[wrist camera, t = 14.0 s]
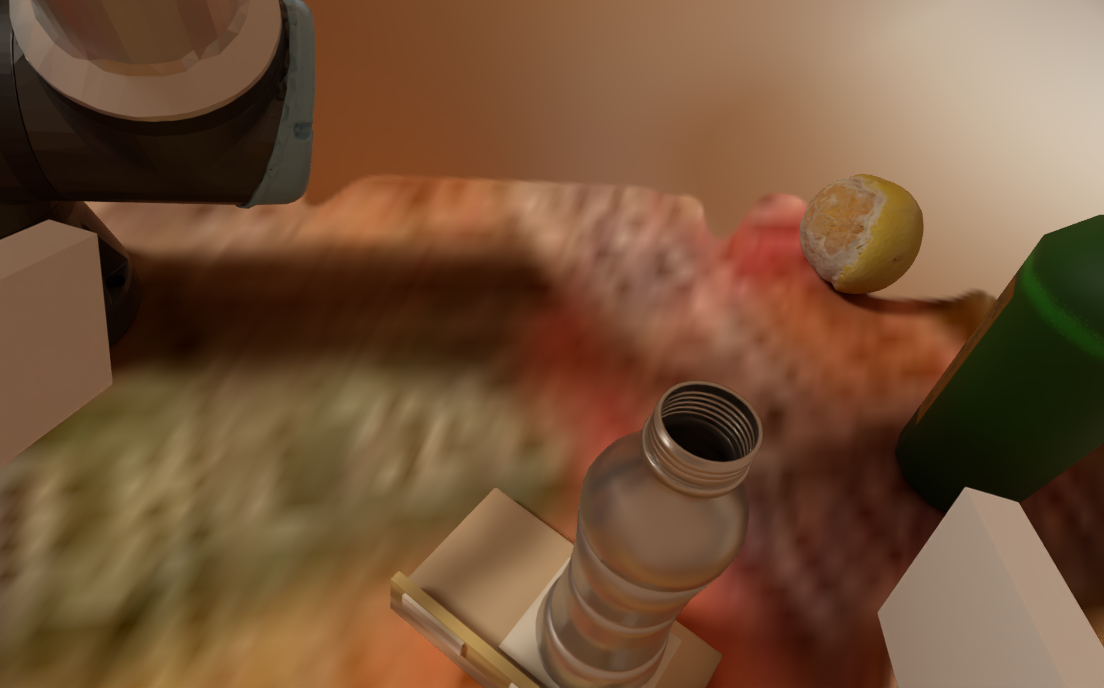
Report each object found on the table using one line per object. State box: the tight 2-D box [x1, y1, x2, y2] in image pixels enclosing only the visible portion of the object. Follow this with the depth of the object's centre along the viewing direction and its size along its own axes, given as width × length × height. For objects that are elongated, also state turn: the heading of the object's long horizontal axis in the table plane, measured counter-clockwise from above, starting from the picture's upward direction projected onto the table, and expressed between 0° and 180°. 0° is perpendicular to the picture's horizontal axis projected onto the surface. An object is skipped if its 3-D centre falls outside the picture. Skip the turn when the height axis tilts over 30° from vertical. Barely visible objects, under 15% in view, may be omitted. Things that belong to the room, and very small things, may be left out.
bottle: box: [895, 215, 1104, 512], centre depth 43 cm, size 11×11×28 cm
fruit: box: [800, 174, 923, 294], centre depth 64 cm, size 10×11×10 cm
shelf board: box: [391, 487, 723, 688], centre depth 39 cm, size 16×9×4 cm, turn 54°
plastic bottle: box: [536, 380, 763, 688], centre depth 31 cm, size 6×7×20 cm
